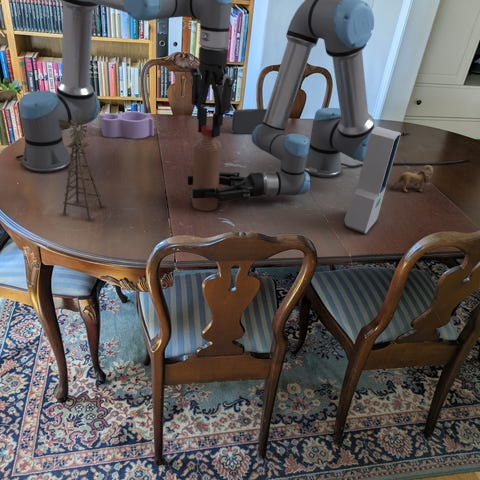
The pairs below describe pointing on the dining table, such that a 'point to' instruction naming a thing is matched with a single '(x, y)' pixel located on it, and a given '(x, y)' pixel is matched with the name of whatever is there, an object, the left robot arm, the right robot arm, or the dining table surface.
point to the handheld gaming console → (247, 120)
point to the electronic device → (372, 179)
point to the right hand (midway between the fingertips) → (190, 187)
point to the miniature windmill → (73, 145)
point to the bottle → (206, 170)
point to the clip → (127, 125)
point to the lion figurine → (415, 178)
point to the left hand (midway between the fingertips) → (208, 133)
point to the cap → (206, 130)
